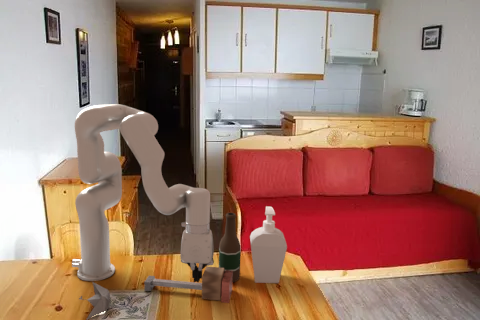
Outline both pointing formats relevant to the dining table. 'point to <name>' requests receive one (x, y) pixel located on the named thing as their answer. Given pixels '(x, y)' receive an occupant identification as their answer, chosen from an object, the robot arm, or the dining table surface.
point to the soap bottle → (268, 250)
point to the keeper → (212, 283)
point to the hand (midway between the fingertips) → (197, 279)
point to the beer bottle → (230, 248)
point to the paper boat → (99, 300)
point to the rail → (192, 285)
